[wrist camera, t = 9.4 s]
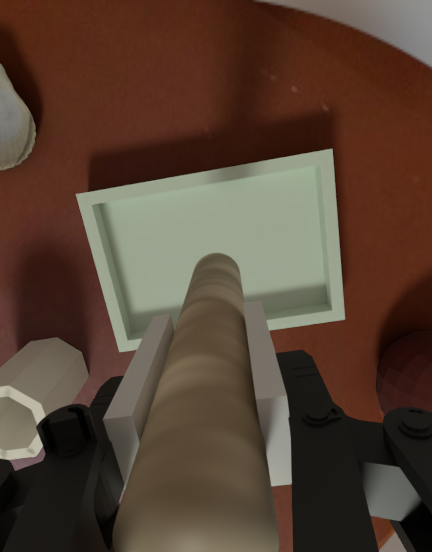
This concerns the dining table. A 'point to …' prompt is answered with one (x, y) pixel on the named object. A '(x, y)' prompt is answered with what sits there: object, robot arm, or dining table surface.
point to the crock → (36, 392)
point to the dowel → (202, 435)
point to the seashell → (14, 126)
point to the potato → (406, 373)
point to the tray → (220, 241)
